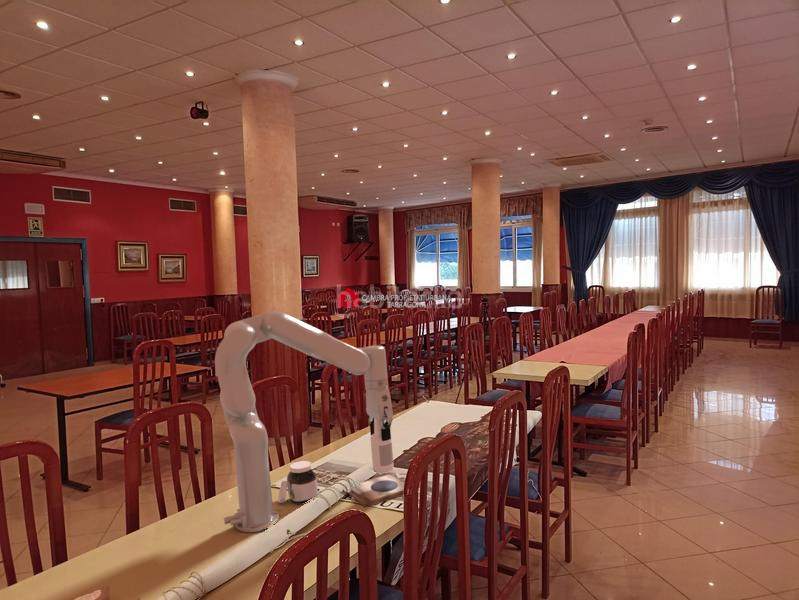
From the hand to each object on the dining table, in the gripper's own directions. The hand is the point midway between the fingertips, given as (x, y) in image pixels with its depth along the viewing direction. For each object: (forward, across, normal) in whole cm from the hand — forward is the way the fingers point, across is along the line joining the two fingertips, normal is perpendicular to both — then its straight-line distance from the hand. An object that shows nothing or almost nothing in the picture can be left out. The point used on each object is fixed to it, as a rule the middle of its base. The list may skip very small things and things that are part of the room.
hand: (380, 436), depth 178 cm
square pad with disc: (+18, +1, +2) cm, 18 cm away
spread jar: (+18, +12, +26) cm, 34 cm away
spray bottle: (+11, 0, 0) cm, 11 cm away
